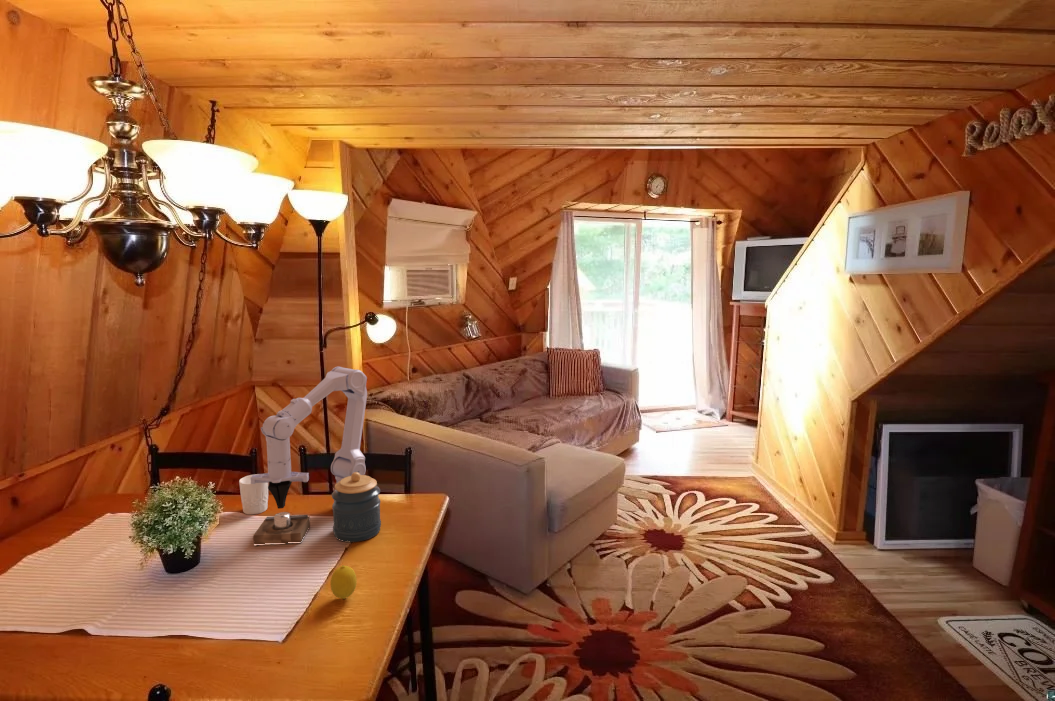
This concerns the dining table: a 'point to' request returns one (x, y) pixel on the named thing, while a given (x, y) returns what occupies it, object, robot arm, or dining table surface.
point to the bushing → (282, 521)
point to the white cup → (253, 496)
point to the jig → (292, 534)
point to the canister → (356, 508)
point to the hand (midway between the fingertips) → (281, 506)
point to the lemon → (343, 582)
